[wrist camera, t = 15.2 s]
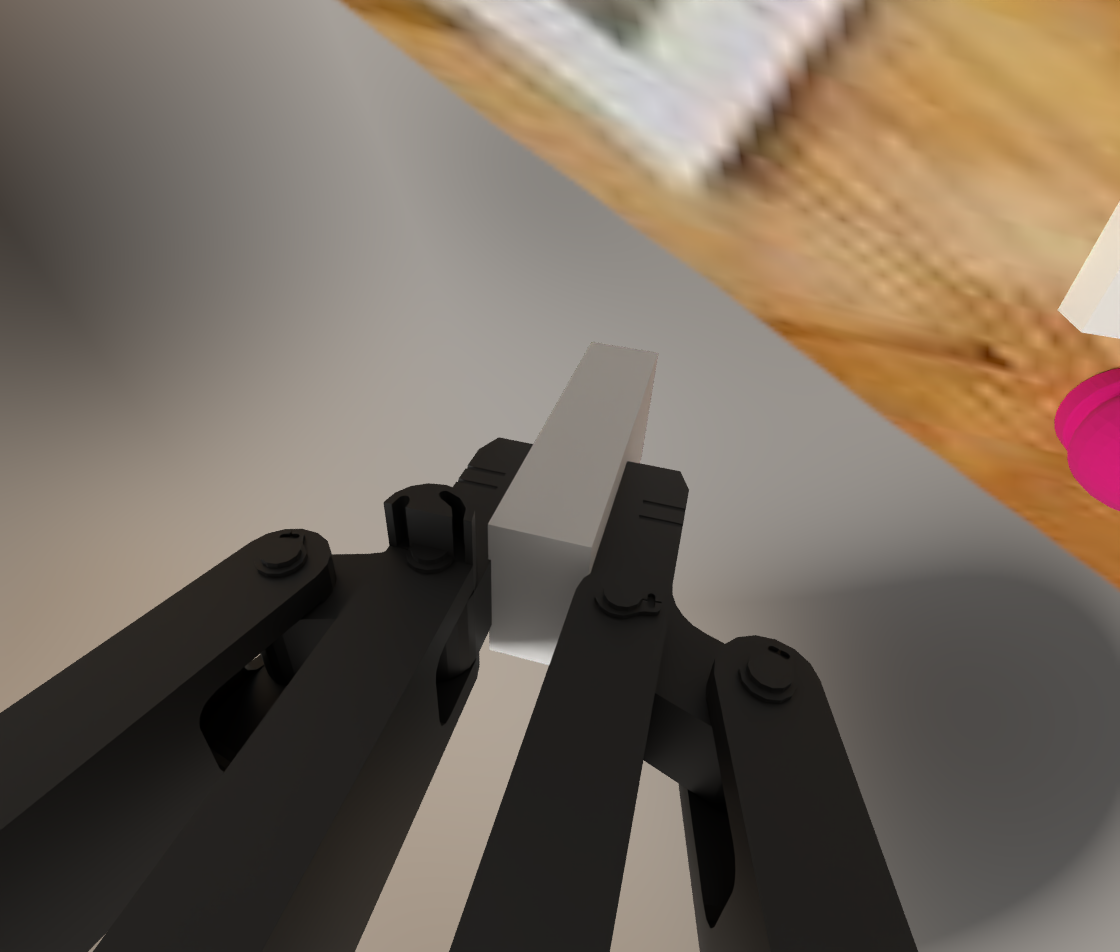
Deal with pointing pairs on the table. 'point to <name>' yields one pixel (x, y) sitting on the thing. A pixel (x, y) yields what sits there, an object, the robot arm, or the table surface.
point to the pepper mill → (1093, 435)
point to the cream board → (1098, 286)
